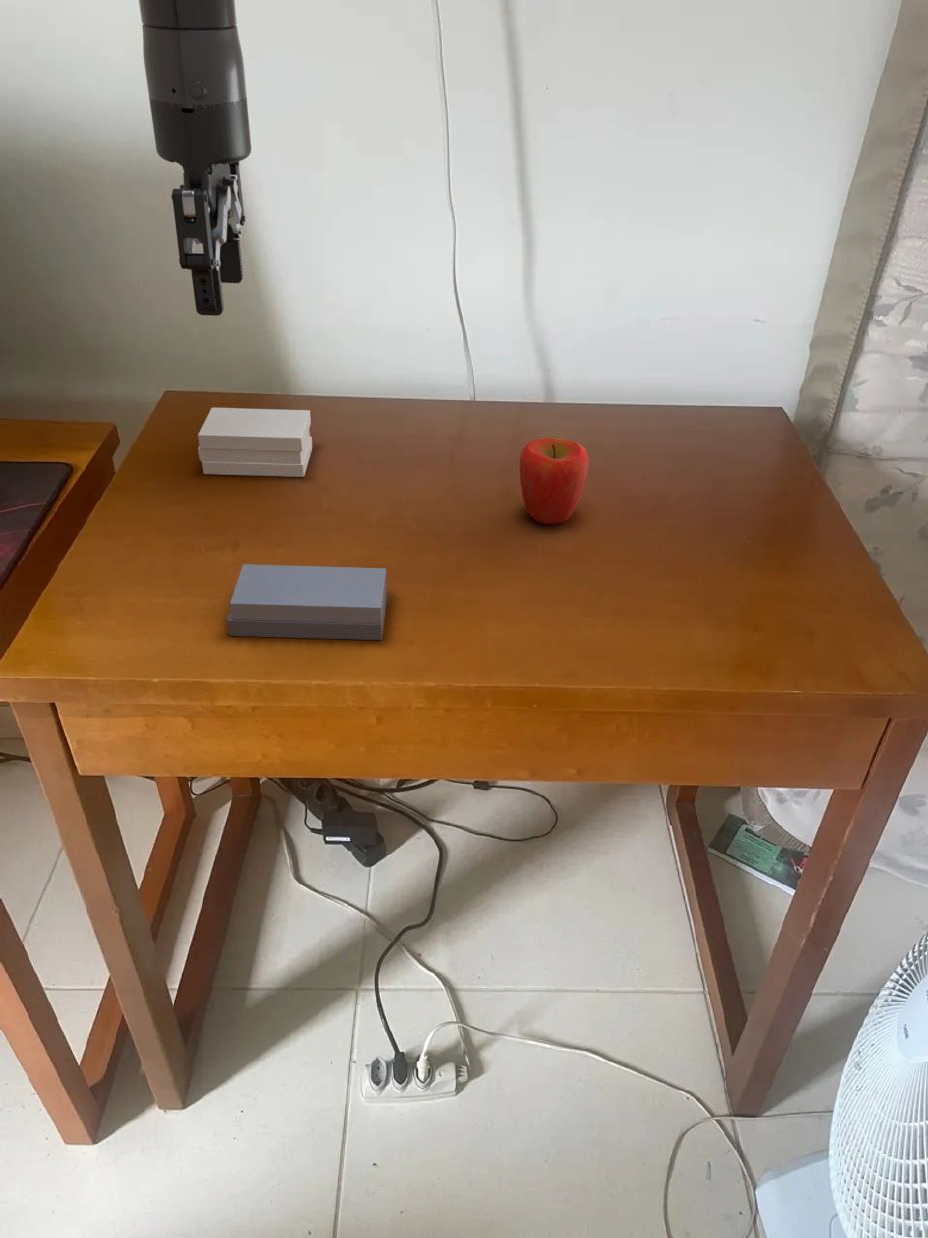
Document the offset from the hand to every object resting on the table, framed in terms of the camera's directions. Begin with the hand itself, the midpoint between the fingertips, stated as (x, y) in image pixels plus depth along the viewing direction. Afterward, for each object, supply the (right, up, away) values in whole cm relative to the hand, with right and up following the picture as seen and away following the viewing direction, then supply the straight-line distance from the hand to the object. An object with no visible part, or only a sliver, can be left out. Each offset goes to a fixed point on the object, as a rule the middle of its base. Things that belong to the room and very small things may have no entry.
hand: (221, 297), depth 87 cm
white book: (+1, -10, +11) cm, 15 cm away
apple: (+30, -19, +6) cm, 36 cm away
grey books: (+9, -28, -8) cm, 31 cm away
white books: (+1, -12, +13) cm, 18 cm away
